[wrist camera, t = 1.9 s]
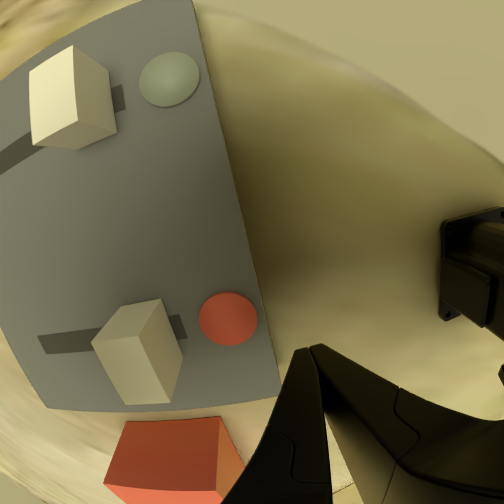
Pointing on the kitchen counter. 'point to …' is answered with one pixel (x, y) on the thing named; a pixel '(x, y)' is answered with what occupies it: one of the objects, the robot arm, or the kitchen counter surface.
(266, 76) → the kitchen counter surface
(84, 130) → the block
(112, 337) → the block
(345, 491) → the ink cartridge box
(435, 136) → the kitchen counter surface
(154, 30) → the breaker panel
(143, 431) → the cap
